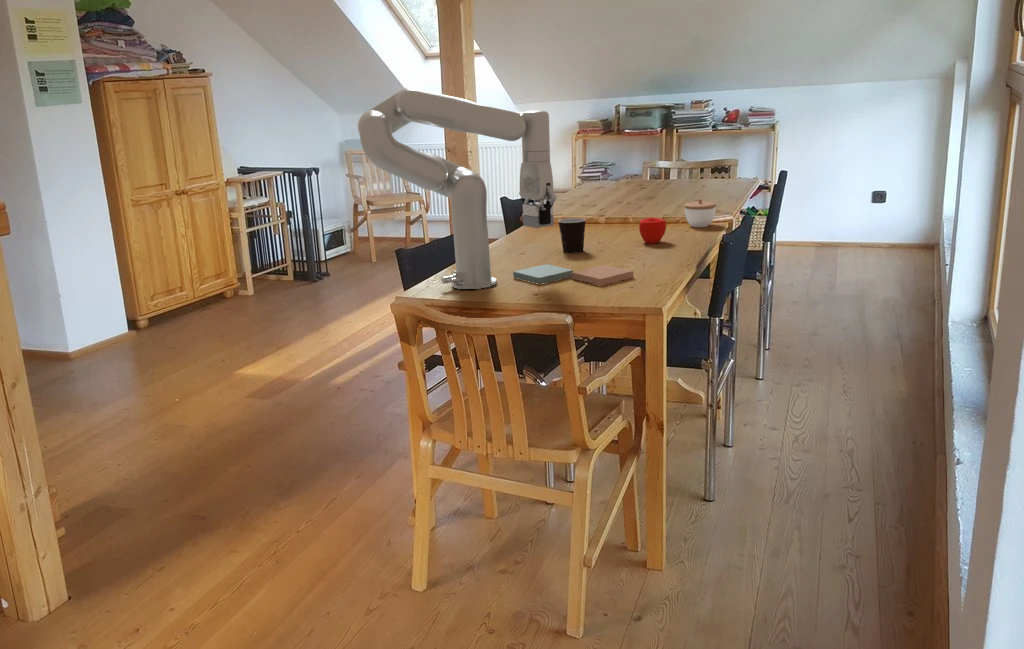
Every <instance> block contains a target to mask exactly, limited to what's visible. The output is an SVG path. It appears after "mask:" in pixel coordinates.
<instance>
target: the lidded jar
mask: <svg viewBox="0 0 1024 649" xmlns="http://www.w3.org/2000/svg"><path fill="white" fill-rule="evenodd" d="M702 200H703V199H702V198H699V199H698V201H691V202H686V203H685V204H684V214H685V215H684V216H685V218H686V221H687V223H688V224H690V226H691V227H693V228H707V227H709V226H710V225H711V223H713V221H714V219H715V215H716V206H717V205H716V202H713V201H702Z"/></svg>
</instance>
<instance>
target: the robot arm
mask: <svg viewBox="0 0 1024 649" xmlns="http://www.w3.org/2000/svg"><path fill="white" fill-rule="evenodd" d="M410 123H417V124H422V125H427V126H431V127H436V128H439V129H440V128H441V129H445V130H450V131H454V132H455V131H456V132H459V133H469V134H475V135H481V136H484V137H489V138H494V139H498V140H503V141H509V142H516V141H519V140H520V139H521V148H522V150H521V151H522V161H521V165H520V171H519V196H520V198H521V201H522V203H523V204H528V203H535V202H536V201H538V202H540V205H541V209H542V210H540V222H541V225H546V224H550V223H551V209H552V206H553V207H554V203H555V201H556V200H557V196H556V194H555V192H554V178H553V171H552V170H553V169H552V164H551V145H550V144H551V142H550V141H551V140H550V115H549V112H547V111H546V110H540V109H539V110H525V111H511V110H507V109H502V108H499V107H498V108H497V107H493V106H488V105H484V104H479V103H476V102H473V101H471V100H467V99H464V98H461V97H456V96H452V95H447V94H443V93H438V92H434V91H429V90H425V89H420V88H415V87H405V88H403V89H401V90H399V91H398V92H396V93H395V94H393V95H392V96H390V97H388V98H387V99H385V100H383V101H382V102H380V103H379V104H377V105H375V106H373V107H372V108H370V109H368V110H367V111H366V112H364V113H363V114H361V116H360V118H359V120H358V122H357V129H358V133H359V139H360V143H361V148H362V150H363V152H364V154H365V155H366V157H367V158H368V159H369V161H370V162H371V163H372V164H373V165H374V166H376V167H377V168H379V169H380V170H382V171H385V172H386V173H388V174H391V175H393V176H395V177H397V178H399V179H401V180H404V181H406V182H408V183H411V184H413V185H415V186H417V187H419V188H420V189H422V190H425V191H432V192H434V193H436V194H439V195H441V196H444V197H446V198H448V199H451V202H450V203H451V221H452V224H451V225H452V234H453V244H454V245H453V246H454V257H455V258H454V260H455V267H456V268H455V269H456V270H452V273H451V274H450V275H446V276H442V277H441V280H440V281H441V283H442V284H443V285H445V284H449V283H450V284H451V286H453V287H454V288H453V287H452V288H453V289H455V288H458V289H457V290H460V289H478V290H482V289H481V288H485V287H489V288H491V287H490V286H492V285H494V286H496V285H497V284H498V280H497V278H496V277H494V276H492V272H491V271H492V270H491V258H490V257H491V255H490V243H489V231H488V230H489V228H488V214H487V213H488V210H487V208H488V206H487V205H488V204H487V201H488V193H487V186H486V184H485V181H484V180H483V178H482V177H481V175H479V173H477V172H475V171H473V170H471V169H470V168H467V167H464V166H463V165H459V164H457V163H454V162H453V161H450V160H448V159H445V158H443V157H441V156H439V155H437V154H435V153H430V152H422V151H419V150H417V149H415V148H412V147H410V146H408V145H406V144H404V143H403V142H399V141H398V140H396V138H395V137H394V135H393V134H395V133H396V132H397V131H399V130H401V129H402V128H404V127H406V126H407V125H408V124H410ZM544 202H545V204H544ZM496 283H497V284H496ZM495 284H496V285H495ZM492 287H493V286H492ZM485 289H486V288H485Z"/></svg>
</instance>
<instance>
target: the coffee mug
mask: <svg viewBox="0 0 1024 649" xmlns="http://www.w3.org/2000/svg"><path fill="white" fill-rule="evenodd" d="M557 222H558V226H559V228H558V229H559V233H560V238H561V239H560V241H561V244H562V252H563V253H564V254H579V253H583V252H584V247H585V246H584V245H585V244H584V243H585V233H586V232H585V231H586V229H585V228H586V219H585V218H582V217H569V218H563V219H559V220H558V221H557Z"/></svg>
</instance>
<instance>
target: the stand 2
mask: <svg viewBox="0 0 1024 649" xmlns="http://www.w3.org/2000/svg"><path fill="white" fill-rule="evenodd" d="M630 278H632V279H634V270H631V269H627V268H620V267H616V266H612V265H611V266H610V265H607V264H602V265H598V266H595V267H594V266H593V267H590V268H585V269H581V270H575V271H573V272H572V277H571V280H572V279H575V280H574V281H577V280H580V281H579V282H581V281H584V282H583V283H585V282H588V283H587V284H589V283H592V284H591V285H593V284H596V285H595V286H597V285H600V286H599V287H602V286H601V285H604V286H606V284H608V285H611V284H610V283H612V284H614V283H613V282H616V283H618V282H617V281H620V282H623V281H622V280H624V281H627V280H626V279H628V280H630Z"/></svg>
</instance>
